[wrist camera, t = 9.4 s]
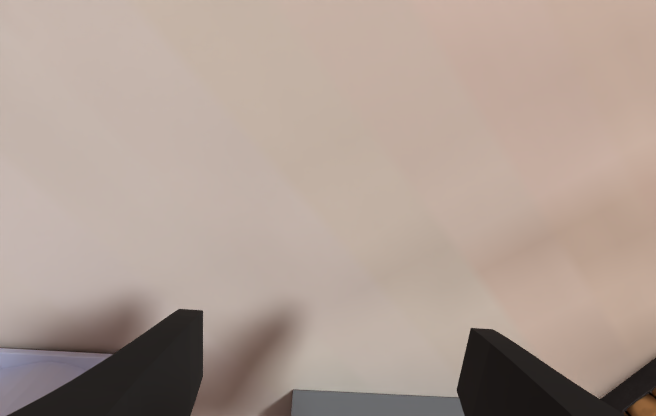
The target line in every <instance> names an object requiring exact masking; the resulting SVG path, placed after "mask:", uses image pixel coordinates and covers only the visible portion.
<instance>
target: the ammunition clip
mask: <svg viewBox="0 0 656 416" xmlns="http://www.w3.org/2000/svg"><path fill="white" fill-rule="evenodd" d="M600 400H602V401H603V402H605V403H607V404H608V405H610V406H611V407H613V408H615V409H616V410H618V411H619V412H621V413H623V414H624V415H626V416H656V358H655V359H654V360H652V361H651V362H650V363H648V364H647V365H646V366H644V367H643V368H642V369H640V370H639V371H638V372H636V373H635V374H634V375H632V376H631V377H630V378H628V379H627V380H626V381H624V382H623V383H622V384H620V385H619V386H618V387H616V388H615V389H614V390H612V391H611V392H610V393H608V394H607V395H606V396H604V397H603V398H602V399H600Z"/></svg>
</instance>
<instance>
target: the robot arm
mask: <svg viewBox="0 0 656 416" xmlns="http://www.w3.org/2000/svg"><path fill="white" fill-rule="evenodd" d="M202 377H203V311H201V310H186V309H179V310H177V311H175V312H174V313H172V314H171V315H169V316H168V317H167V318H165V319H164V320H162V321H161V322H159V323H158V324H157V325H155V326H154V327H152V328H151V329H150V330H148V331H147V332H145V333H144V334H142V335H141V336H139V337H138V338H137V339H135V340H134V341H132V342H131V343H129V344H128V345H126V346H125V347H123V348H122V349H120V350H119V351H118V352H116V353H115V354H102V353H83V352H64V351H45V350H27V349H8V348H0V416H190V415H191V412H192V409H193V406H194V403H195V400H196V397H197V393H198V390H199V387H200V384H201V380H202ZM457 393H458V396H459V399H460V403H461V406H462V409H463V412H464V415H465V416H626V415H624V414H623V413H621V412H619V411H618V410H616V409H615V408H613V407H611V406H610V405H608V404H607V403H605V402H603V401H602V400H600V399H598V398H597V397H595V396H594V395H592V394H590V393H589V392H587V391H586V390H584V389H583V388H581V387H580V386H578V385H577V384H575V383H574V382H572V381H571V380H569V379H568V378H566V377H564V376H563V375H562V374H560V373H559V372H557V371H556V370H554V369H553V368H551V367H550V366H548V365H547V364H545V363H544V362H542V361H541V360H539V359H538V358H536V357H535V356H534V355H532V354H531V353H529V352H528V351H526V350H525V349H523V348H522V347H520V346H519V345H517V344H516V343H514V342H513V341H511V340H510V339H508V338H506V337H505V336H503V335H502V334H500V333H498V332H496V331H495V330H493V329H477V328H471V330H470V334H469V339H468V343H467V347H466V352H465V356H464V361H463V365H462V369H461V374H460V378H459V382H458V387H457Z"/></svg>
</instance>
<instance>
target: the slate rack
mask: <svg viewBox="0 0 656 416" xmlns="http://www.w3.org/2000/svg"><path fill="white" fill-rule="evenodd" d="M291 416H465V415H464V412H463V409H462V406H461V403H460V399H459V398H450V397H430V396H410V395H389V394H369V393H349V392H329V391H308V390H293V397H292V410H291Z"/></svg>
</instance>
